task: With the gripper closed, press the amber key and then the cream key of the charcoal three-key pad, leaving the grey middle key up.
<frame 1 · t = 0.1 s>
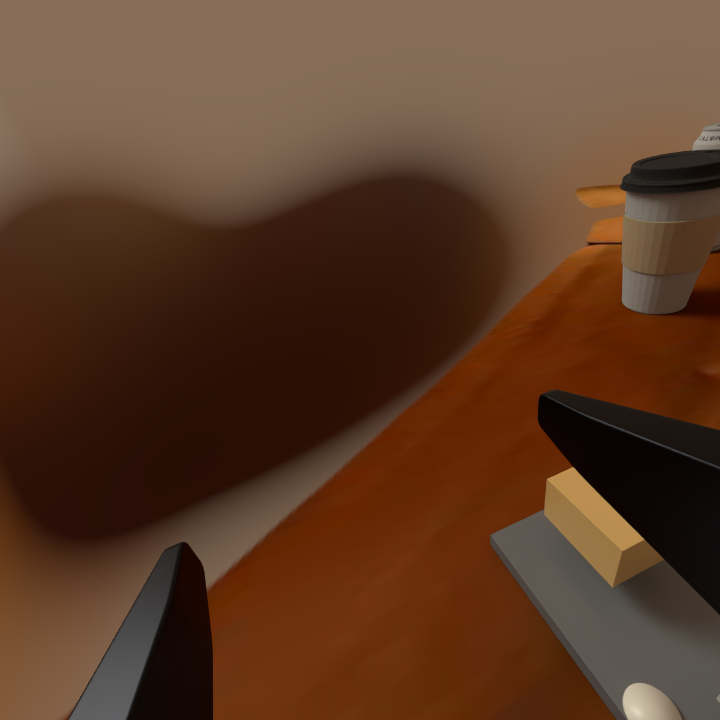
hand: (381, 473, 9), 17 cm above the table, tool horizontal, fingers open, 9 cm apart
energy drink can: (697, 248, 54), on the table
key amber: (613, 512, 20), point 4 cm above the table, slide at 0.0 cm
coffee cup: (651, 304, 44), on the table
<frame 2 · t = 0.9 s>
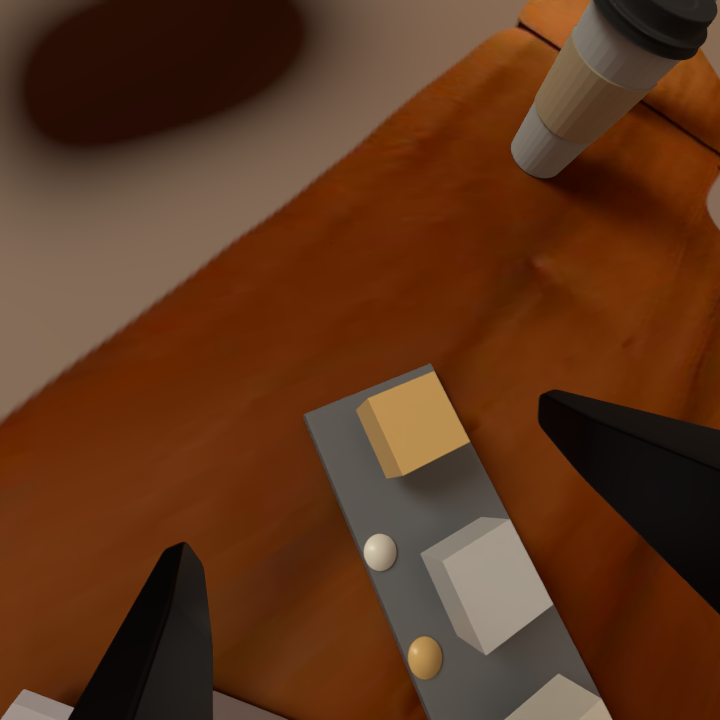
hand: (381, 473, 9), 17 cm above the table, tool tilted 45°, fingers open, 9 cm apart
key grey: (483, 577, 21), point 4 cm above the table, slide at 0.0 cm
keypad base: (448, 565, 25), on the table
key amber: (410, 425, 23), point 4 cm above the table, slide at 0.0 cm
coffee cup: (533, 158, 41), on the table
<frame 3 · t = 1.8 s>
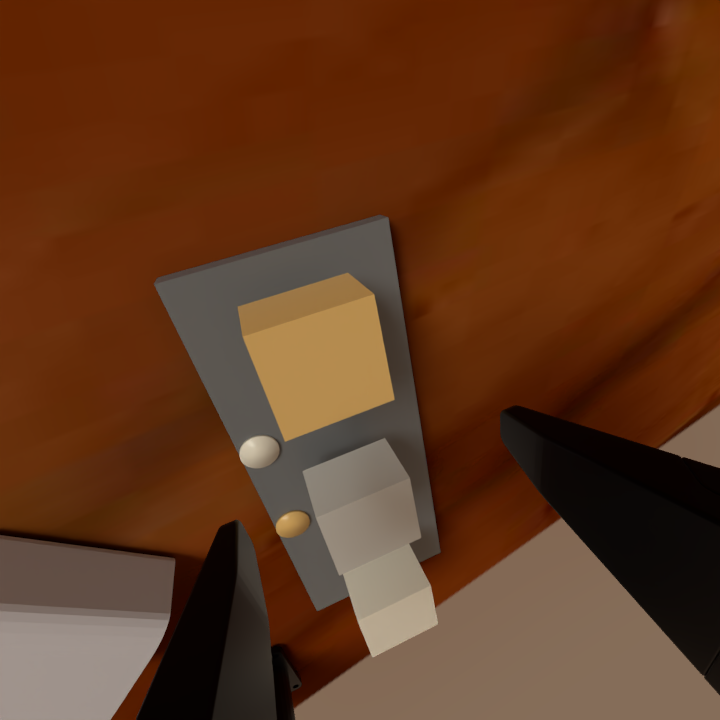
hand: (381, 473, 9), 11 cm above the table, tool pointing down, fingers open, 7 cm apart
key cream: (390, 598, 24), point 4 cm above the table, slide at 0.0 cm
key grey: (362, 504, 19), point 4 cm above the table, slide at 0.0 cm
keypad base: (339, 451, 23), on the table
key amber: (317, 354, 15), point 4 cm above the table, slide at 0.0 cm
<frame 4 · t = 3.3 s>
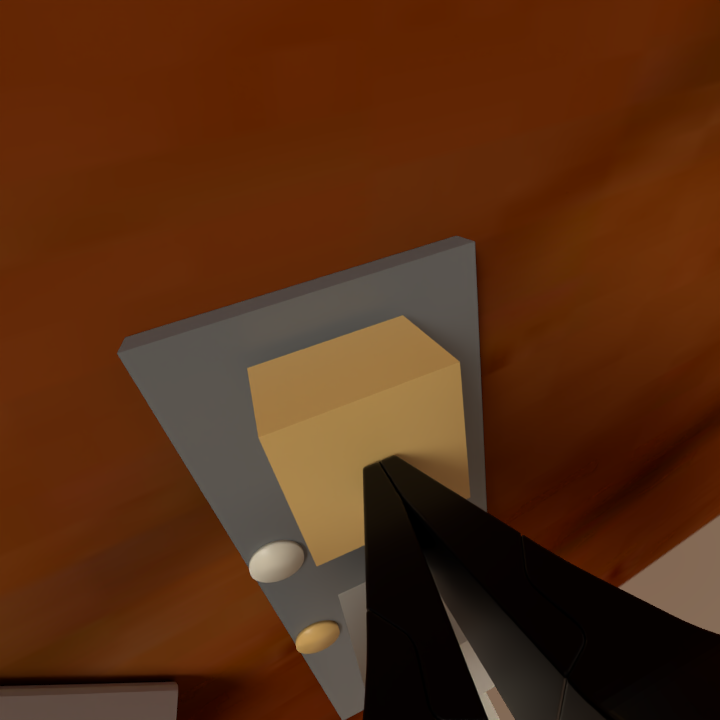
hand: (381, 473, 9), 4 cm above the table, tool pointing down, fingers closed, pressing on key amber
key grey: (421, 639, 14), point 4 cm above the table, slide at 0.0 cm
keypad base: (378, 540, 17), on the table
key amber: (361, 434, 10), point 3 cm above the table, slide at 1.3 cm, touching gripper
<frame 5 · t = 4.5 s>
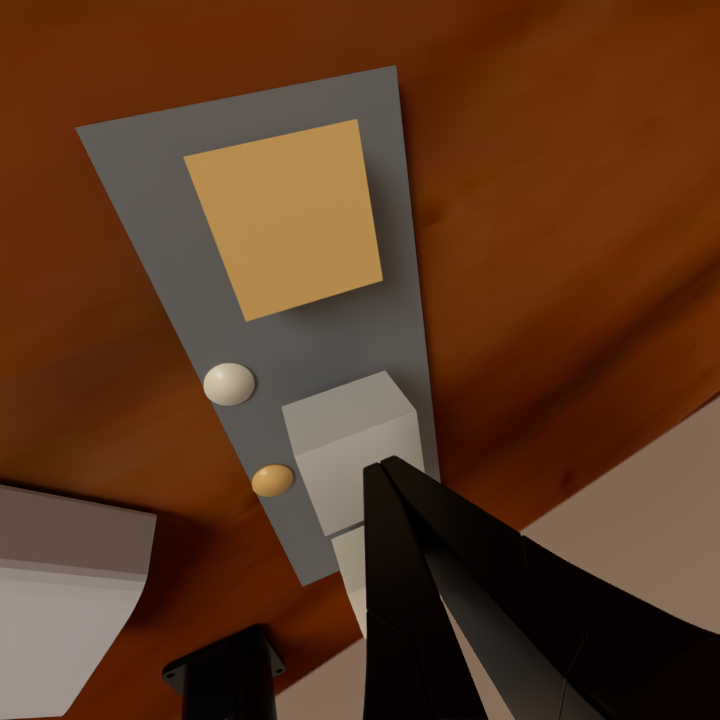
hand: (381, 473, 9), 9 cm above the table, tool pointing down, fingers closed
key cream: (387, 571, 20), point 4 cm above the table, slide at 0.0 cm
key grey: (356, 450, 16), point 4 cm above the table, slide at 0.0 cm
keypad base: (329, 394, 19), on the table
key amber: (289, 219, 12), point 3 cm above the table, slide at 1.4 cm
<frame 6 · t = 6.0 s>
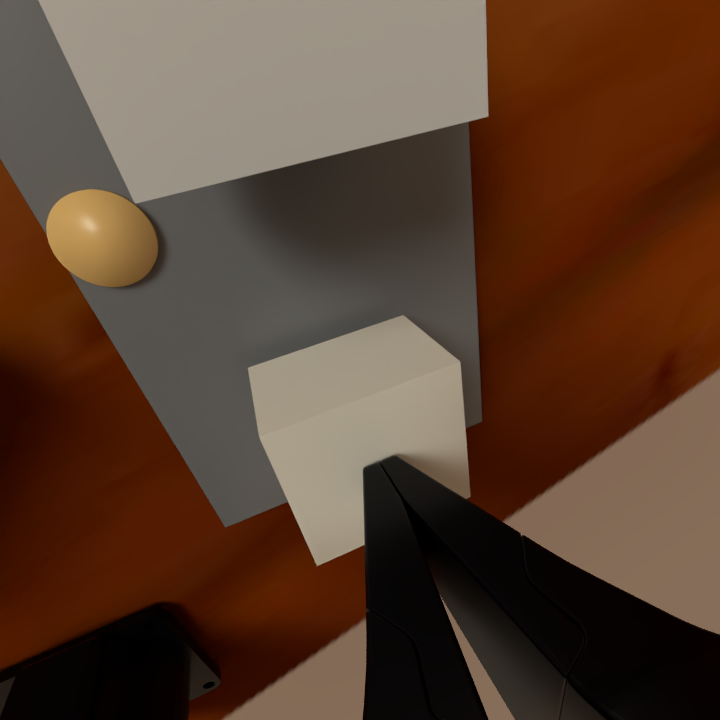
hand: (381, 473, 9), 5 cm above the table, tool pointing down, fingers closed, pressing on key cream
key cream: (362, 434, 10), point 3 cm above the table, slide at 1.2 cm, touching gripper
keypad base: (236, 44, 8), on the table
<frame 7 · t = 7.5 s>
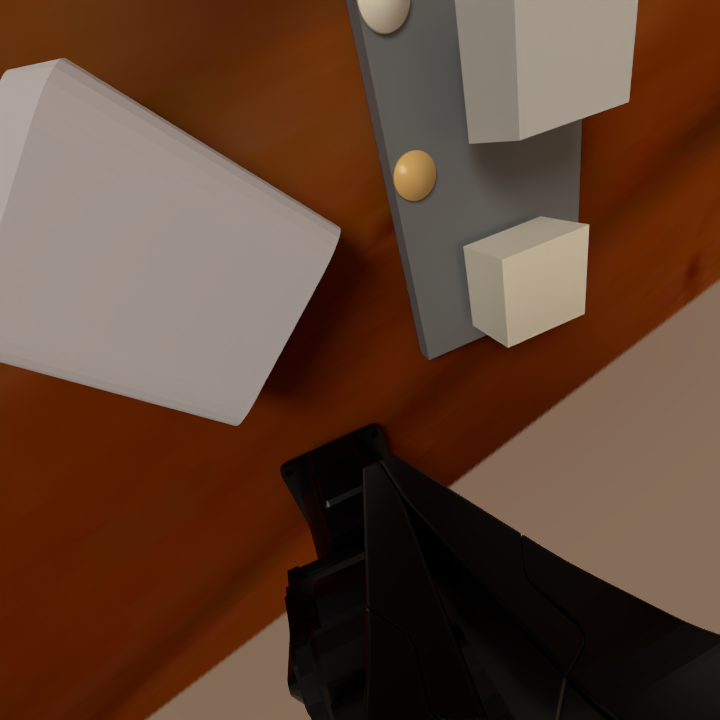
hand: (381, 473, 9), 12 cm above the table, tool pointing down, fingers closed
key cream: (524, 280, 19), point 3 cm above the table, slide at 1.4 cm
key grey: (543, 49, 13), point 4 cm above the table, slide at 0.0 cm
charger: (98, 223, 15), on the table
keypad base: (472, 73, 17), on the table
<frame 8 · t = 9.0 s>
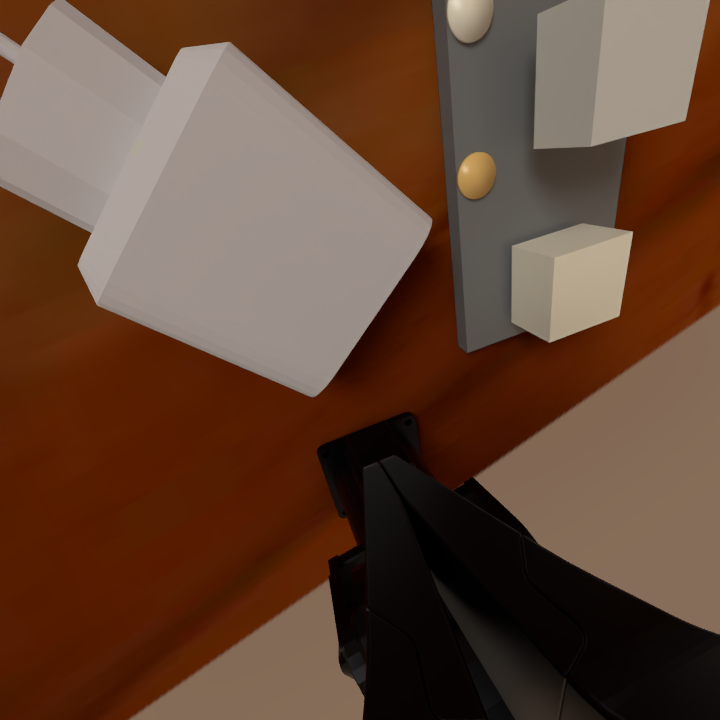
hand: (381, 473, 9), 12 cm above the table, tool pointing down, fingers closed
key cream: (566, 281, 20), point 3 cm above the table, slide at 1.4 cm
key grey: (613, 68, 15), point 4 cm above the table, slide at 0.0 cm
charger: (201, 197, 16), on the table
keypad base: (533, 86, 18), on the table
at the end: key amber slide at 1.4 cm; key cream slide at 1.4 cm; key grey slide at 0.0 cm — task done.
